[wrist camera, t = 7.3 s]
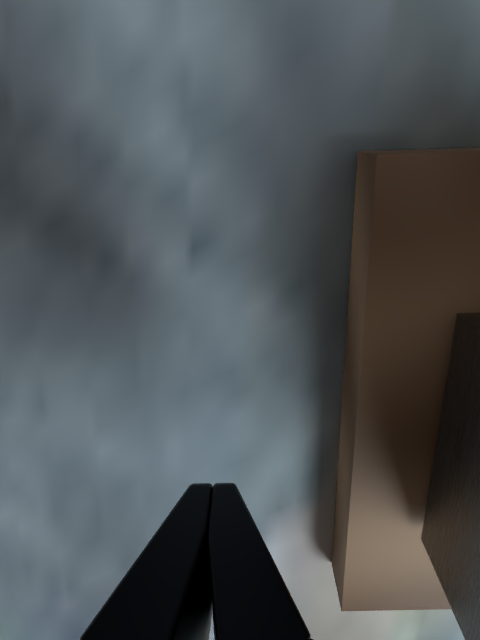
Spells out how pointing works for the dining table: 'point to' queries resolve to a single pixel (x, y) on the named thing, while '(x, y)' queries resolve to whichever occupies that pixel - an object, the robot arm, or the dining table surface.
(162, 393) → the dining table surface
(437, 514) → the grey block with rod
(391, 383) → the gauge base
